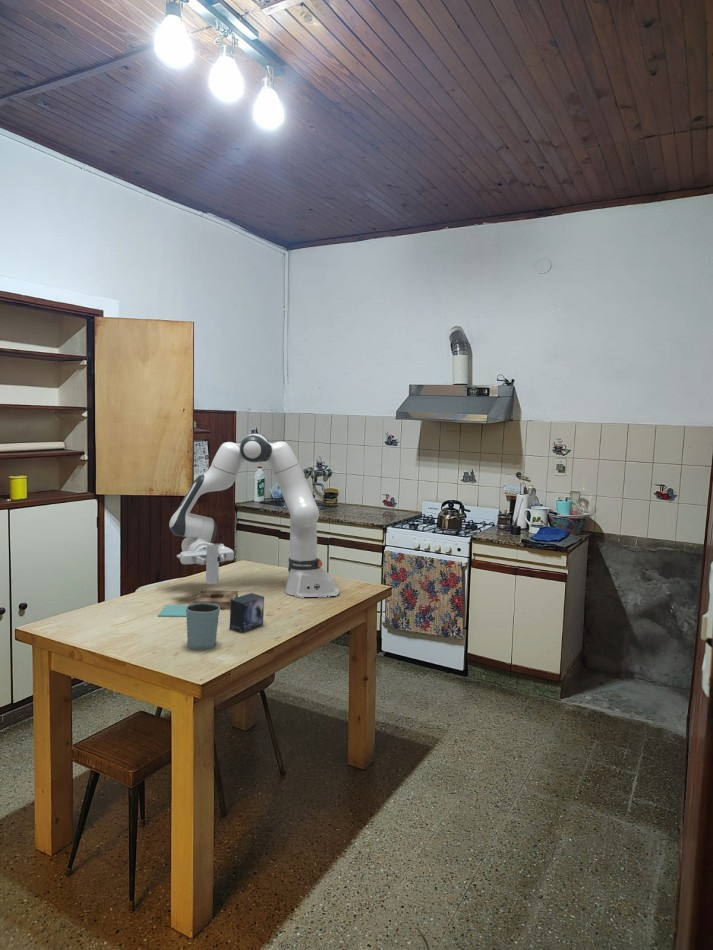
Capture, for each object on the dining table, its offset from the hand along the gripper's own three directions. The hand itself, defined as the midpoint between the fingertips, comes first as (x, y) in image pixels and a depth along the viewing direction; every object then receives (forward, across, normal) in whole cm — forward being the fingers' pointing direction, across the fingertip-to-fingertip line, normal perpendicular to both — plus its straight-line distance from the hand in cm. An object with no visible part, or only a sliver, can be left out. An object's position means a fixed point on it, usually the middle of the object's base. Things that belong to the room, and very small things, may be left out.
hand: (213, 560), depth 228 cm
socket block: (-1, +2, +17) cm, 17 cm away
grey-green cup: (+37, -16, +17) cm, 44 cm away
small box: (+28, +2, +17) cm, 33 cm away
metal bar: (-1, 0, +8) cm, 9 cm away
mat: (+2, -13, +17) cm, 22 cm away
